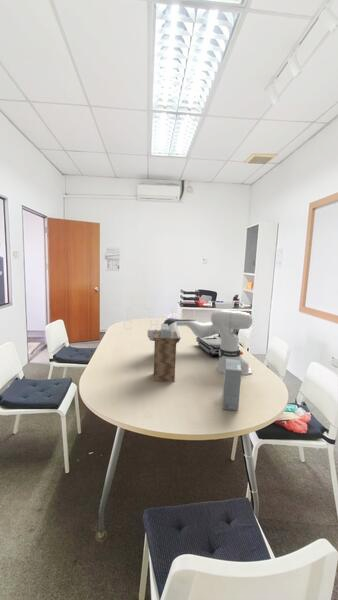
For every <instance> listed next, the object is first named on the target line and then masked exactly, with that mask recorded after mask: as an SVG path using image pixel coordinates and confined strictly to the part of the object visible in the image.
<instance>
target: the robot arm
mask: <svg viewBox="0 0 338 600" xmlns="http://www.w3.org/2000/svg"><path fill="white" fill-rule="evenodd" d="M162 324H168V328H169V329H171V330H172V332H177V336H178V341H176V345H177V344H178V343H179V342H180V340H181V335H180V331H179V329H178V327H185V326H186V327H188V328H189V329H190V330H191V331H192V333H193V334H194V336H195V337H199V338H210V337H213V336H217V337H219V338H220V339H221V345H220V350H219V357H218V362H217V365H216V369H215V370H216V371H218V372H220V373H221V374H224V372H225V359H232V360H240V364H241V371H242V372H241V376H244V375H252V374H253V371H252V368H251V367H249V362H248V360H247V359H246V358H244V357H243V356H242V355H244V352H243V351H242V350H241V349H240V348H239V349H238V346H239V337H238V334H236V333H235V332H234V330H247V329H250V328H251V326H252V325H253V316H252V315H251V314H250V313H248V312H245V311H239V310H230V309H229V310H228V309H216V310H213V311H212V312H211V315H210V321H207V322H198V321H197V320H196V319H182V318H181V319H178V318H177V319H176V318H168V319H166V320H164V321H163V323H162ZM153 332H161V329H148V330H147V335H146V336H147V338H148V339H149V341H152V342H154V341H153Z"/></svg>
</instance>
